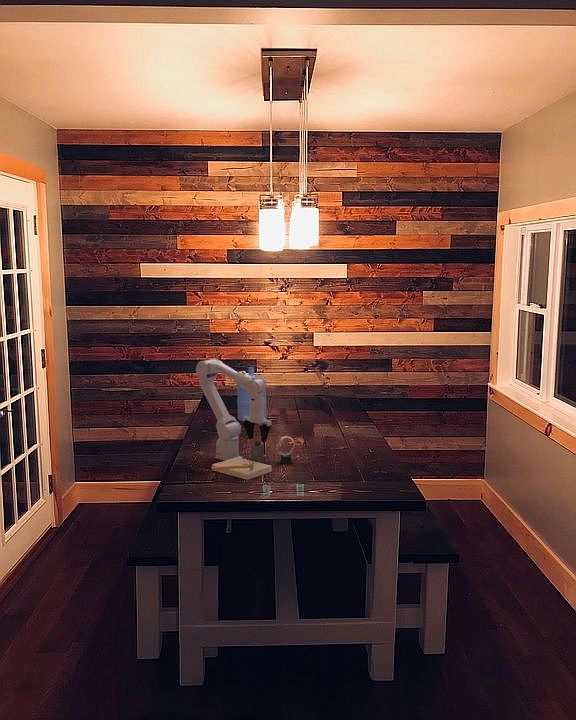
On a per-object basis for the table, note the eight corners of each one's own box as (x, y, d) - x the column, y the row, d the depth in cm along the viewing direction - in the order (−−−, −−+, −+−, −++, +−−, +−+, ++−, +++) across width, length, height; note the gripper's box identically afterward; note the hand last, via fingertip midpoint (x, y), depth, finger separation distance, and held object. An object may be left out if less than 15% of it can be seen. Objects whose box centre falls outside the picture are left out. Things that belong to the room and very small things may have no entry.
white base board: (212, 470, 280) (212, 464, 280) (236, 462, 291) (236, 457, 290) (247, 479, 267) (247, 474, 267) (271, 471, 278) (271, 465, 277)
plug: (247, 463, 288) (247, 441, 287) (257, 460, 293) (257, 438, 292) (258, 466, 284) (257, 444, 283) (267, 463, 289) (267, 441, 288)
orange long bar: (212, 472, 268) (211, 466, 267) (211, 471, 270) (211, 465, 269) (254, 469, 271) (253, 463, 270) (253, 468, 272) (253, 462, 272)
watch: (276, 460, 293) (275, 435, 291) (295, 460, 293) (294, 435, 291) (276, 464, 287) (275, 438, 286) (295, 464, 287) (295, 438, 286)
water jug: (266, 422, 362) (265, 369, 358) (236, 422, 363) (235, 369, 359) (267, 415, 378) (266, 365, 374) (238, 415, 378) (237, 365, 374)
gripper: (276, 409, 284) (276, 441, 286) (250, 404, 293) (251, 435, 295) (264, 412, 278) (265, 444, 280) (239, 407, 288) (239, 439, 290)
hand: (257, 440), depth 287 cm, fingers open, 7 cm apart
